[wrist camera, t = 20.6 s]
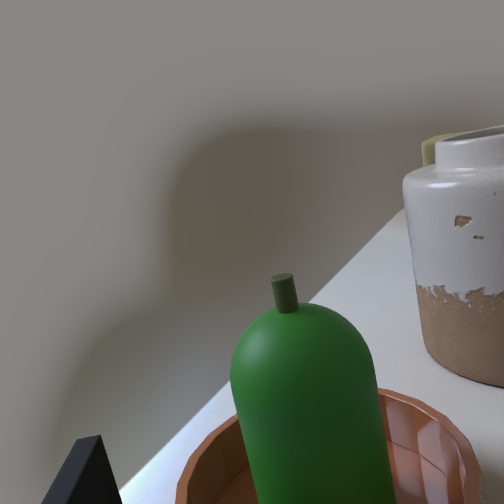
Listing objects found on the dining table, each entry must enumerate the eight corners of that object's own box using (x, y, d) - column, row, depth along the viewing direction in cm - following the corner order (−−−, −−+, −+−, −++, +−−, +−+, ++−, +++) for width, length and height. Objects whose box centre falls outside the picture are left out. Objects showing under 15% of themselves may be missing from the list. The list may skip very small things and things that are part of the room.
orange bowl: (148, 683, 18) (121, 603, 18) (230, 446, 32) (217, 394, 31) (547, 708, 15) (537, 611, 14) (450, 432, 29) (442, 374, 28)
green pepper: (255, 578, 21) (188, 314, 18) (275, 474, 27) (227, 266, 24) (408, 578, 20) (359, 291, 17) (392, 468, 26) (355, 246, 23)
